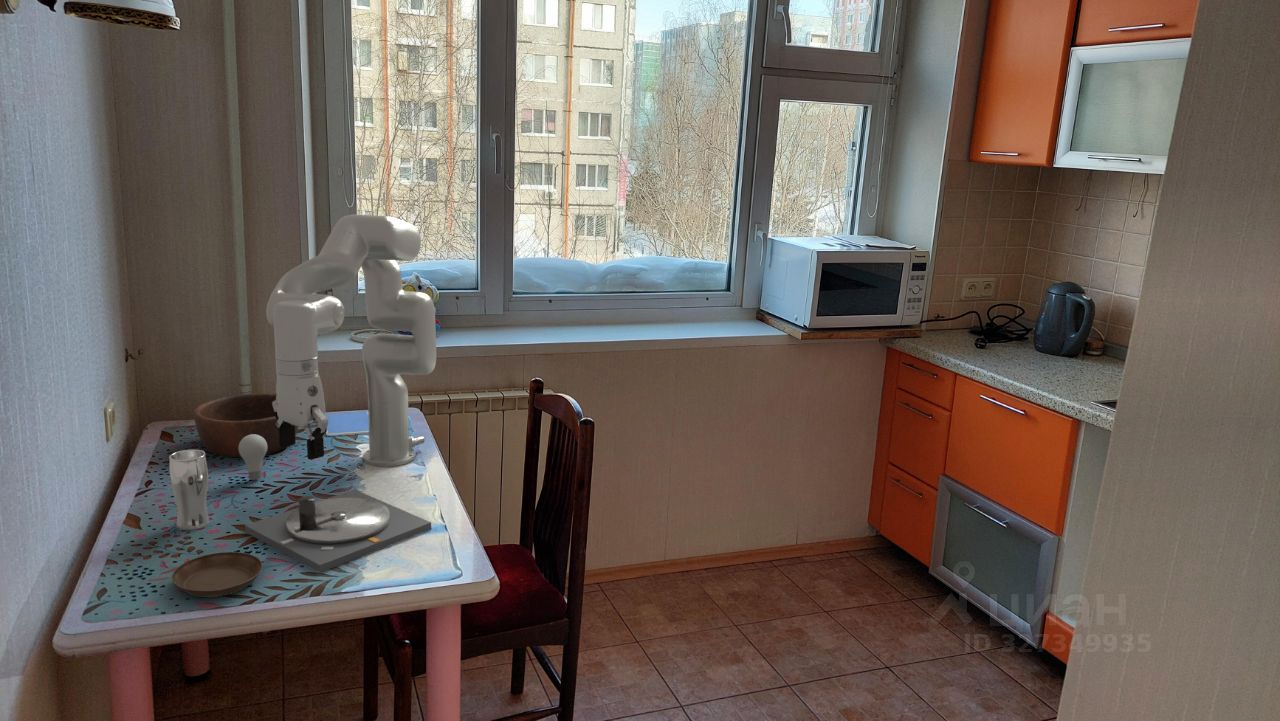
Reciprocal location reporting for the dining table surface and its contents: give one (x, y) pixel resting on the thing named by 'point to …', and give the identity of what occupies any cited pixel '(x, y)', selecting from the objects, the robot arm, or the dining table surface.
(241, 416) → the wooden bowl
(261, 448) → the lightbulb
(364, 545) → the dial plate
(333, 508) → the dial
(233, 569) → the saucer
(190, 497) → the beer glass
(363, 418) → the tablet computer
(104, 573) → the dining table surface
